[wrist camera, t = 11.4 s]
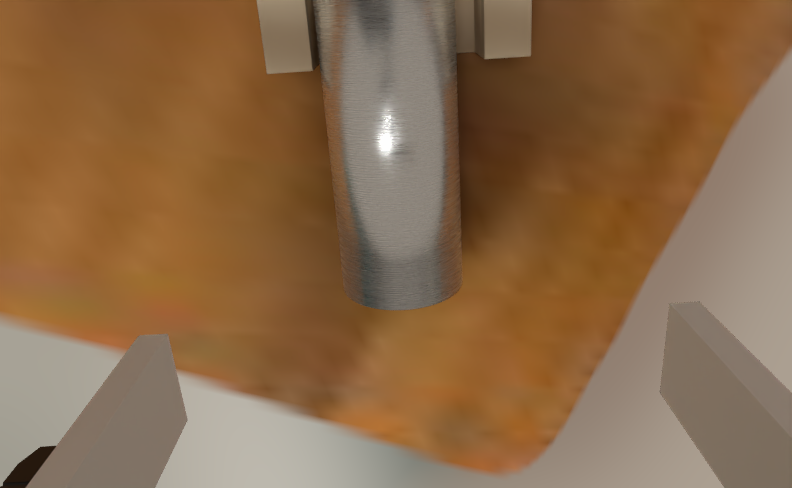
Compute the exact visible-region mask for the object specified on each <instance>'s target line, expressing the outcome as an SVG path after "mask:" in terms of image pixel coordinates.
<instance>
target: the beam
mask: <svg viewBox="0 0 792 488" xmlns="http://www.w3.org/2000/svg"><path fill="white" fill-rule="evenodd" d="M257 6H258V13H259V21H260V28H261V35H262V42H263V49H264V57H265V64H266V71H267V74H274V73H289V72H304V71H313V70H314V69H315V68H316V67H317V66H318V65H319V64H320V61H319V52H318V43H317V34H316V24H315V15H314V6H313V0H257ZM455 20H456V53H469V52H475V53H477V54H478V55H480V56H481V57H482V58H484V59H495V58H510V57H525V56H531V21H532V0H455Z"/></svg>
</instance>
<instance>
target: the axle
mask: <svg viewBox="0 0 792 488" xmlns="http://www.w3.org/2000/svg"><path fill="white" fill-rule="evenodd" d="M313 6H314V15H315V24H316V34H317V43H318V52H319V61H320V71H321V80H322V89H323V98H324V108H325V117H326V126H327V135H328V145H329V154H330V163H331V172H332V182H333V191H334V200H335V209H336V219H337V228H338V237H339V247H340V256H341V265H342V274H343V284H344V290H345V293H346V294H347V296H348V297H349V298H350V299H352V300H353V301H355V302H357V303H359V304H361V305H364V306H367V307H371V308H376V309H383V310H409V309H417V308H422V307H427V306H431V305H434V304H437V303H440V302H442V301H444V300H446V299H448V298H450V297H451V296H453V295H454V294H455V293H457V291H458V290H459V289H460V287H461V286H462V282H463V281H462V243H461V206H460V169H459V132H458V95H457V57H456V20H455V0H313Z"/></svg>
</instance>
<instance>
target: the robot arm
mask: <svg viewBox="0 0 792 488" xmlns="http://www.w3.org/2000/svg"><path fill="white" fill-rule="evenodd" d="M660 393H661V395H662V397H663V398H664V400H665V401H666V402H667V404H668V405H669V407H670V408H671V410H672V411H673V413H674V414H675V416H676V417H677V418H678V420H679V421H680V423H681V425H682V426H683V427H684V429H685V430H686V432H687V433H688V435H689V436H690V438H691V439H692V441H693V442H694V444H695V445H696V447H697V448H698V449H699V451H700V453H701V454H702V455H703V457H704V458H705V460H706V461H707V463H708V464H709V466H710V467H711V469H712V470H713V472H714V473H715V475H716V476H717V477H718V479H719V481H720V482H721V483H722V485H723V486H724V488H792V393H791V392H790V391H789V390H788V389H787V388H786V387H785V386H784V385H783V384H782V383H781V382H780V381H779V380H778V379H777V378H776V377H775V376H774V375H773V374H772V373H771V372H770V371H769V370H768V369H767V368H766V367H765V366H764V365H763V364H762V363H761V362H760V361H759V360H758V359H757V358H756V357H755V356H754V355H753V354H752V353H751V352H750V351H749V350H748V349H747V348H746V347H745V346H744V345H743V344H742V343H741V342H740V341H739V340H738V339H736V338H735V336H734V335H733V334H732V333H730V331H728V330H727V328H725V327H724V326H723V325H722V324H721V323H720V322H719V321H718V320H717V319H716V318H715V317H714V316H713V315H712V314H711V313H710V312H709V311H708V310H707V309H706V308H705V307H704V306H703V305H702V304H701V303H700V302H684V303H670V304H669V313H668V323H667V331H666V341H665V349H664V359H663V368H662V377H661V386H660ZM186 422H187V416H186V411H185V407H184V403H183V398H182V394H181V390H180V385H179V381H178V377H177V372H176V368H175V364H174V359H173V355H172V350H171V346H170V342H169V337H168V334H158V335H141V336H138V337H137V339H136V340H135V341H134V343H133V344H132V345H131V347H130V348H129V350H128V351H127V352H126V354H125V355H124V356H123V358H122V359H121V360H120V362H119V363H118V364H117V366H116V367H115V368H114V370H113V371H112V372H111V374H110V375H109V376H108V378H107V379H106V380H105V382H104V383H103V385H102V386H101V387H100V389H99V390H98V391H97V393H96V394H95V395H94V397H93V398H92V399H91V401H90V402H89V403H88V405H87V406H86V407H85V409H84V410H83V411H82V413H81V414H80V415H79V417H78V418H77V419H76V421H75V422H74V423H73V425H72V426H71V427H70V429H69V430H68V431H67V433H66V434H65V435H64V437H63V438H62V440H61V441H60V442H59V443H58V445H57V446H47V447H40V448H38V449H37V450H36V451H35V452H33V453H32V454H31V455H29V456H28V457H27V458H25V459H24V460H23V461H21V462H20V463H19V464H18V465H17V466H16V467H15V468H14V470H13V471H12V472H11V474H10V475H9V476H8V477H7V479H6V480H5V481H4V482H3V486H1V487H0V488H155V487H156V484H157V482H158V480H159V478H160V476H161V474H162V472H163V470H164V468H165V466H166V464H167V462H168V459H169V457H170V455H171V453H172V451H173V449H174V447H175V445H176V443H177V441H178V439H179V437H180V435H181V433H182V430H183V428H184V426H185V424H186Z"/></svg>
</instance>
